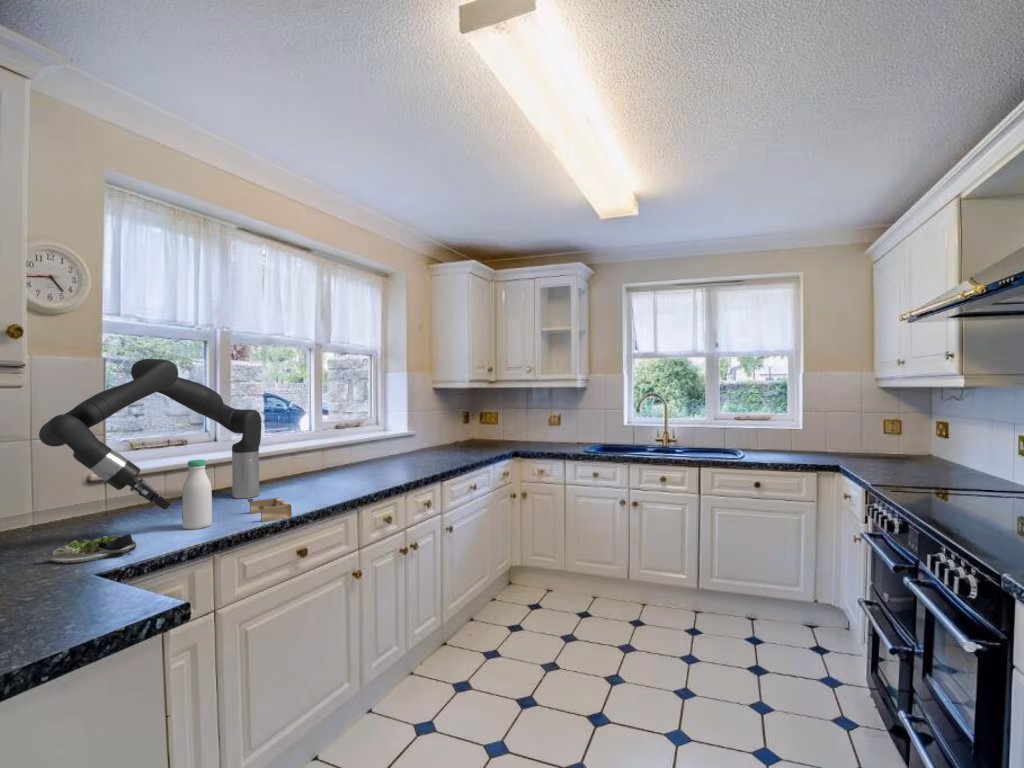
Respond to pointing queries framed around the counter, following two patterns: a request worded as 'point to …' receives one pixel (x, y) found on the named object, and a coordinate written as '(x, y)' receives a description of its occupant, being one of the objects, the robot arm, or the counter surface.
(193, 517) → the milk bottle
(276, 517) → the light brown wooden box
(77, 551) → the salad plate
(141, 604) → the counter surface
